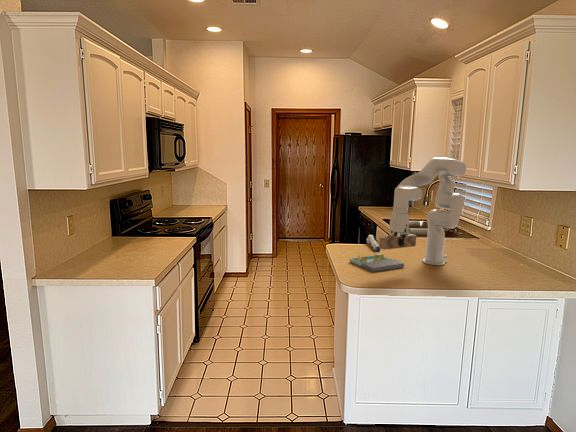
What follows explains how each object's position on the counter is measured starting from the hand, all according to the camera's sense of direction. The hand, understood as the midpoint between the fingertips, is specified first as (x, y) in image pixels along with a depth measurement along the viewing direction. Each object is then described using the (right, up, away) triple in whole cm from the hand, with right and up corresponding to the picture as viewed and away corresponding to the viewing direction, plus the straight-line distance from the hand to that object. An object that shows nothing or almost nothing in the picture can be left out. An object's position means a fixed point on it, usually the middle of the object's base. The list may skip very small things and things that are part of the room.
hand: (398, 244), depth 217 cm
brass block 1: (-15, -10, +16) cm, 24 cm away
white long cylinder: (-1, -6, +59) cm, 59 cm away
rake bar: (0, -1, 0) cm, 2 cm away
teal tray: (-10, -12, +21) cm, 26 cm away
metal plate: (-5, -14, +12) cm, 19 cm away
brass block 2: (-4, -10, +21) cm, 24 cm away
